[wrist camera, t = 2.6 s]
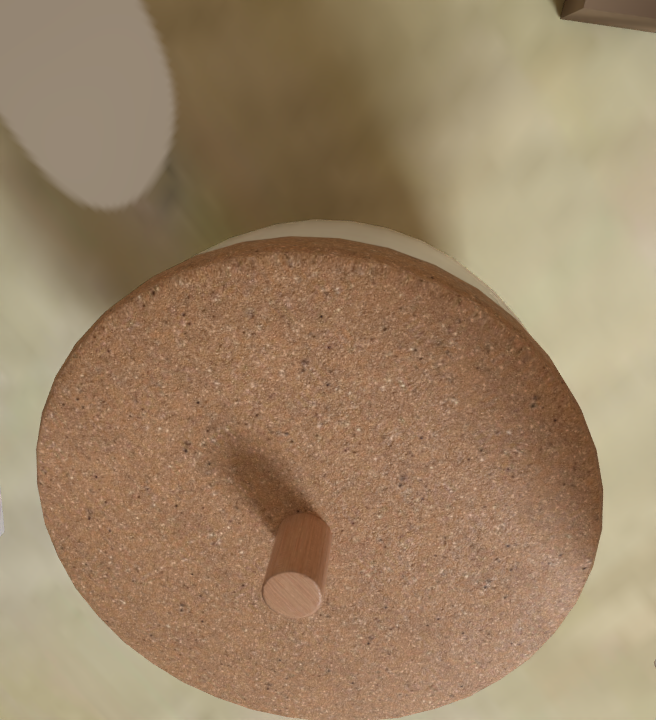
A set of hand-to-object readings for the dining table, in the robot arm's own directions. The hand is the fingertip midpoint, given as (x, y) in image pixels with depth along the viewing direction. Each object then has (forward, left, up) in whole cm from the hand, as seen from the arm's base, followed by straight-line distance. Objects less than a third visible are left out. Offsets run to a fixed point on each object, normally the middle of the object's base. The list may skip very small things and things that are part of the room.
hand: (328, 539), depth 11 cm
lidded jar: (0, 0, -8) cm, 8 cm away
